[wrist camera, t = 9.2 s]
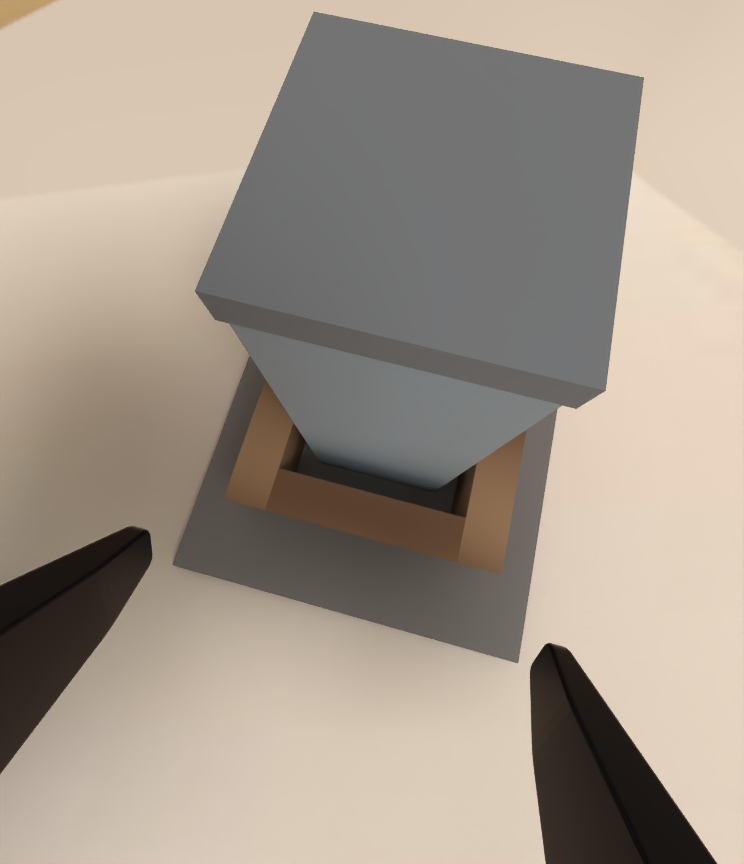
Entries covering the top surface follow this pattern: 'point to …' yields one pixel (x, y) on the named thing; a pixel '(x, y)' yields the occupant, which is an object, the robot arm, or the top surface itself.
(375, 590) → the mat
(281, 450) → the brown square open frame
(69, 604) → the robot arm
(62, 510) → the top surface
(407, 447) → the tin
